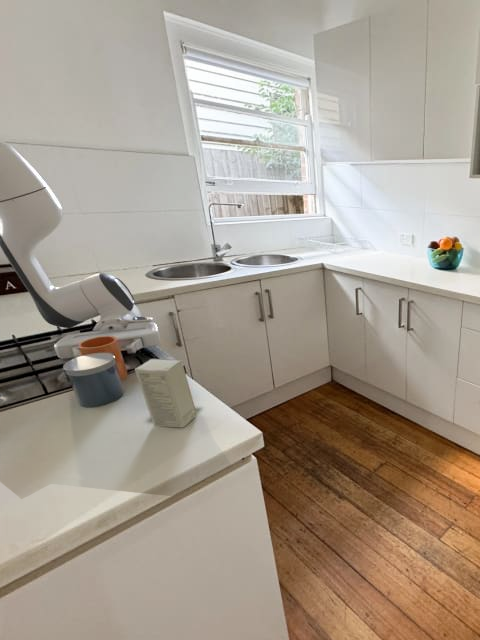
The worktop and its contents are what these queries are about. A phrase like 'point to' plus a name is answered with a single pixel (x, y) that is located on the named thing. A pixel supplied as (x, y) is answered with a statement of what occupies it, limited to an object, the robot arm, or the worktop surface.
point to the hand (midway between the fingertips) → (105, 353)
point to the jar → (94, 379)
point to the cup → (105, 351)
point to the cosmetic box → (166, 392)
